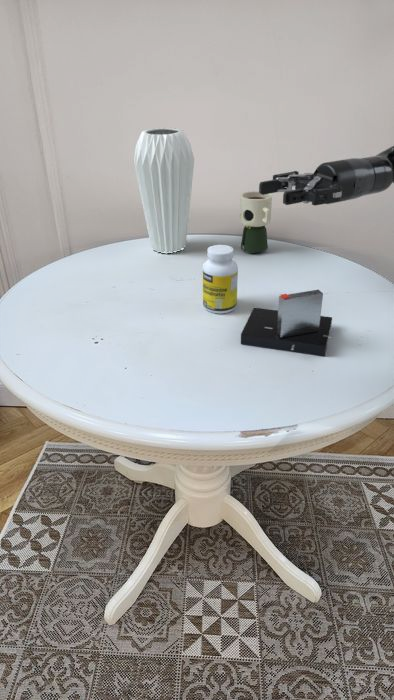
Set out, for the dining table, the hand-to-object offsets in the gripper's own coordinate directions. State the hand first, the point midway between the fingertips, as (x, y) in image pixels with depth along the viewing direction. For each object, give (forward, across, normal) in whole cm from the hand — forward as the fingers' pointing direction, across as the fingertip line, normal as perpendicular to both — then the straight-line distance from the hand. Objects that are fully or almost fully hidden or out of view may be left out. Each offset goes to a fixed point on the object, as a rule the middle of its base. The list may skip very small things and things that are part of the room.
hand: (272, 193), depth 95 cm
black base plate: (+7, +16, +20) cm, 27 cm away
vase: (+6, -32, +20) cm, 39 cm away
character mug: (-11, -21, +20) cm, 31 cm away
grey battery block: (+6, +18, +18) cm, 26 cm away
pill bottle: (+11, 0, +20) cm, 23 cm away
